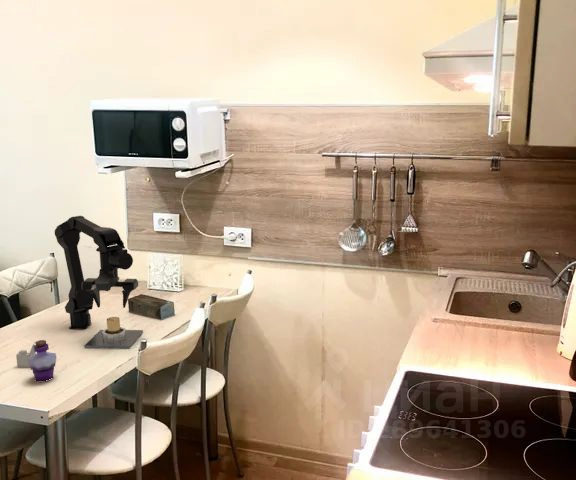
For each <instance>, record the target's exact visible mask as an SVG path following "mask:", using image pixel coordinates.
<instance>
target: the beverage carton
mask: <svg viewBox="0 0 576 480" xmlns="http://www.w3.org/2000/svg"><path fill="white" fill-rule="evenodd" d="M127 304H128V312H129V313H132V314H135V315H139V316H143V317H146V318H150V319H154V320H159V321H163V320H166V319H169V318H171V317H174V316H175V315H176V314H175V302H174V301H171V300H167V299H163V298H160V297H156V296H152V295H147V294H142V293H141V294H138V295H135V296H133V297H128V300H127Z"/></svg>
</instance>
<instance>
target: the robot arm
mask: <svg viewBox="0 0 576 480" xmlns="http://www.w3.org/2000/svg"><path fill="white" fill-rule="evenodd" d="M81 233H82V234H85V235H86V236H88V237H90V238H92V240H93V243H94V244H95V245H96V246H97V248H96V249H95V251H96V252H98V253H99V262H100V263H99V265H100V269H99V271H98V273H99V274H98V276H97V277H87V278H86V279H85V278H84V274H83V273H84V272H83V268H82V262H81V258H80V253H79V249H78V246H79V243H80V240H81ZM54 236H55V238H56V243H58V245H59V246H60V247H61V248H62V249H63V252H64V257H65V262H66V267H67V272H68V277H69V282H70V290H69V292H68V300H67V303H66V304H65V306H64V310H65V313H67V314H69V319H70V320H69V321H70V326H69V327H68V329H69V330H70V329H71V330H86V329H87V328H88V327H90V325H92V319H91V316H92V315H91V313H90V310H93V306H94V302H95V305H96V306H97V308H101V293H100V292H103V291H105V292H109V291H111V289H112V288H113V287H114V288H122V291H121V293H122V308H123V309H125V308H126V306H127V304H128V299H129V298H130V294H131V293H132V292H133V291H135V290H136V289H137V288H138V287H139V281H138V279H137V278H126V279H125V280H123V281H119V280H120V277H119V273H118V272H119V271H118V270H119V269H120V270H125V271H126V270H129V269H130V268H131V267H132V266H133V262H134V258H133V256H132V254H130V253H128V249H126V247H125V243H124V241H123V240H122V238H121V236H120V234H119V232H118V231H117V230H116V229H115V228H111V227H105V226H100V225H98V224H96V223H95V222H93V221H90V220H89V219H87V218H85V216H83V215H76V216H75V215H74V216H71V217H69V218H68V219H67V220H65V221H64V222H62V223H60V224H59V225H57V226H56V228H55V229H54Z"/></svg>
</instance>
